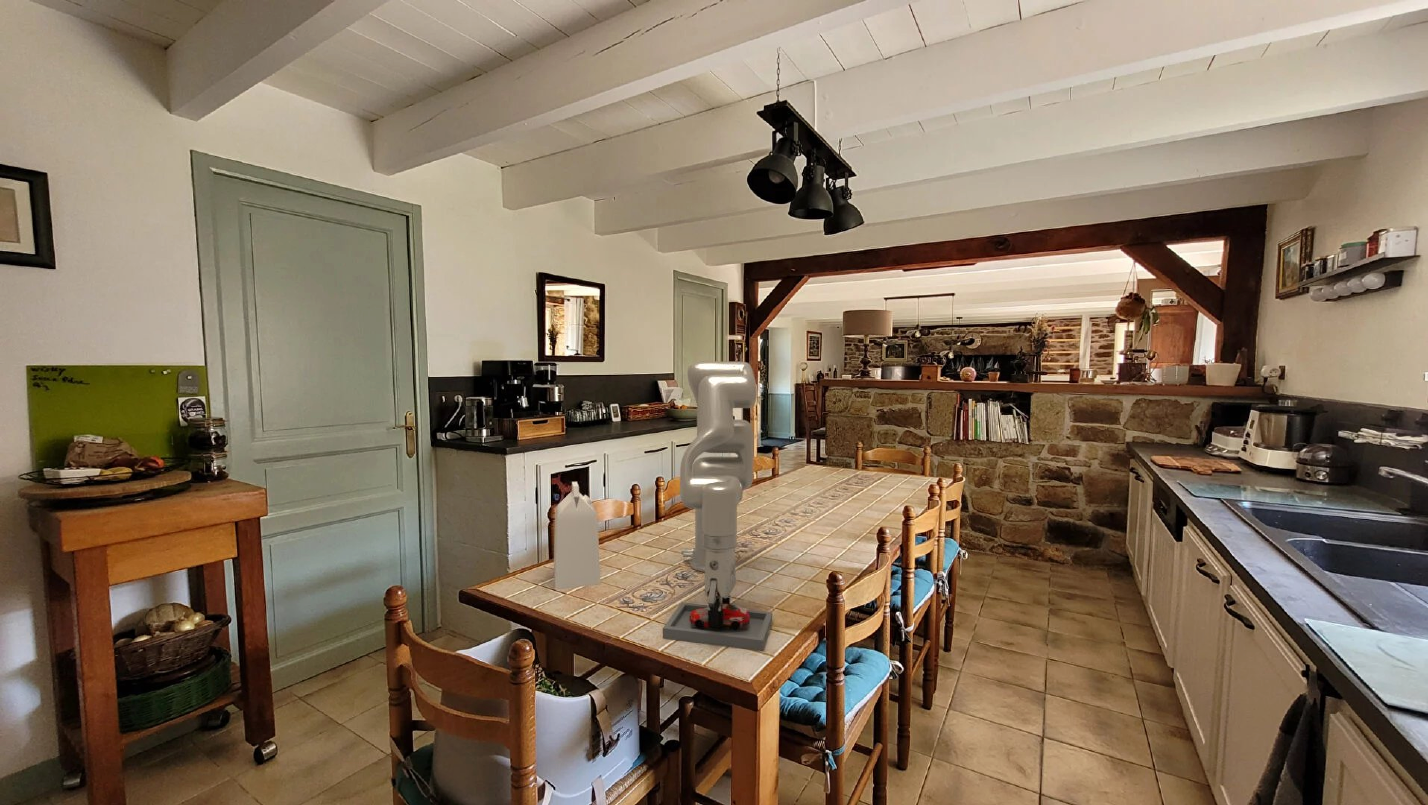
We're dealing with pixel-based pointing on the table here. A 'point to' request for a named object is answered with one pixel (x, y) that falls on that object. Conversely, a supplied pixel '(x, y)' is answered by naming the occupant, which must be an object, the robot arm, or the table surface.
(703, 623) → the race car
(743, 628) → the tray
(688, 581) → the table surface
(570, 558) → the milk
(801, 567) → the table surface
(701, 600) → the table surface
